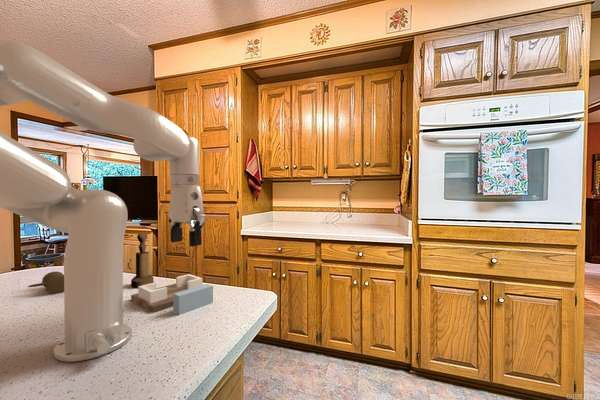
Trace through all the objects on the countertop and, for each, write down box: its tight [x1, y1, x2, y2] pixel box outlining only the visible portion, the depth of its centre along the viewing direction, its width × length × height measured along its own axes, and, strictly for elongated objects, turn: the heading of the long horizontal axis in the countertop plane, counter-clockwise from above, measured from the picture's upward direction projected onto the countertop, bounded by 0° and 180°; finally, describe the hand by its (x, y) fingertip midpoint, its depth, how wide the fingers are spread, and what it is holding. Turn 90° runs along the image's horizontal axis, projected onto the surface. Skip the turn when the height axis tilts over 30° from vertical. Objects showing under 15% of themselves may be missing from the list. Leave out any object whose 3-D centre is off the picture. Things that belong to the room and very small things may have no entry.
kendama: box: [27, 271, 64, 295], centre depth 89 cm, size 6×10×20 cm
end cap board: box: [130, 282, 187, 313], centre depth 80 cm, size 14×17×2 cm
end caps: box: [137, 273, 203, 303], centre depth 80 cm, size 8×16×3 cm, turn 143°
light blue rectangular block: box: [172, 283, 214, 316], centre depth 73 cm, size 3×10×5 cm, turn 143°
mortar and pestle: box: [130, 232, 155, 289], centre depth 91 cm, size 7×6×18 cm
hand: (185, 243), depth 74 cm, fingers open, 9 cm apart
